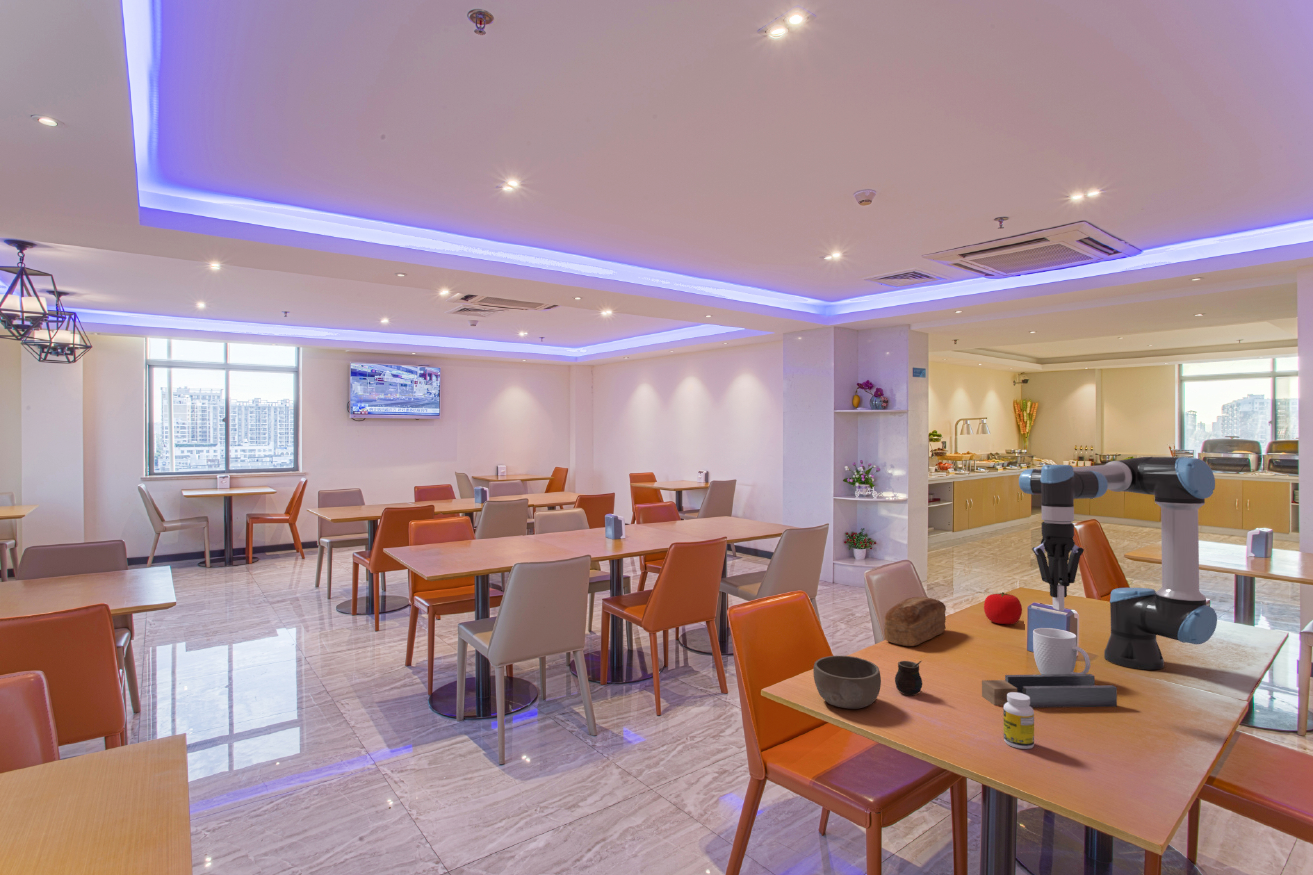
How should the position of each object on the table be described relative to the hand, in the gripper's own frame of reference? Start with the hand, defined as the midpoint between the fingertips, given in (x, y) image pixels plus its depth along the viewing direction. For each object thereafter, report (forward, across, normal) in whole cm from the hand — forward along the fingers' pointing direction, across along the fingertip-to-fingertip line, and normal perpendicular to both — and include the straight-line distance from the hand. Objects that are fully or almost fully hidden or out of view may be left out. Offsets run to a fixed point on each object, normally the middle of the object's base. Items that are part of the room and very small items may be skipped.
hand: (1058, 609), depth 177 cm
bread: (+25, +15, -58) cm, 64 cm away
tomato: (+25, -26, -74) cm, 82 cm away
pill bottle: (+25, +26, +25) cm, 43 cm away
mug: (+25, -10, -16) cm, 31 cm away
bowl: (+25, +58, 0) cm, 63 cm away
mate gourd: (+25, +38, -6) cm, 46 cm away
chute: (+24, 0, 0) cm, 24 cm away
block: (+25, +16, 0) cm, 29 cm away
